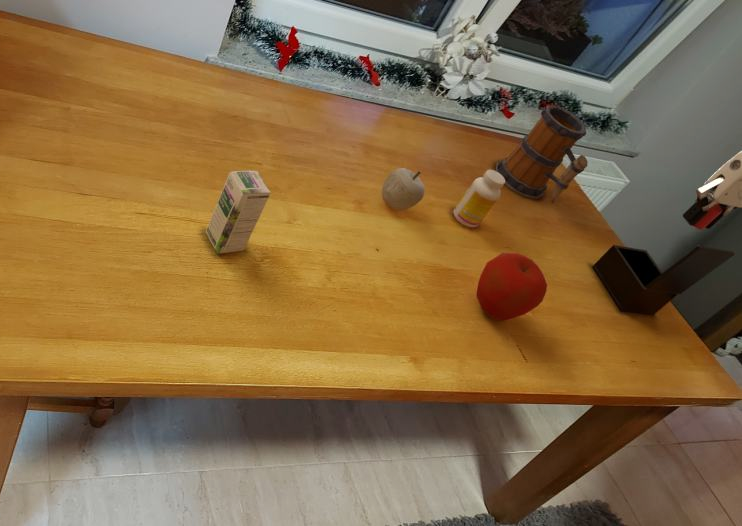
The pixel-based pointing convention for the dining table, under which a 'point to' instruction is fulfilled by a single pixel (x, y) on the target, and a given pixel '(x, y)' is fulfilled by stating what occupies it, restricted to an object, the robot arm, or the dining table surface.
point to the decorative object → (402, 189)
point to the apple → (510, 286)
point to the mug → (545, 155)
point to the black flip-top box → (631, 280)
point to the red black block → (708, 216)
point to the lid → (689, 269)
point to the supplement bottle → (479, 199)
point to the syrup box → (237, 211)
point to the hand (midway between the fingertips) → (696, 221)
